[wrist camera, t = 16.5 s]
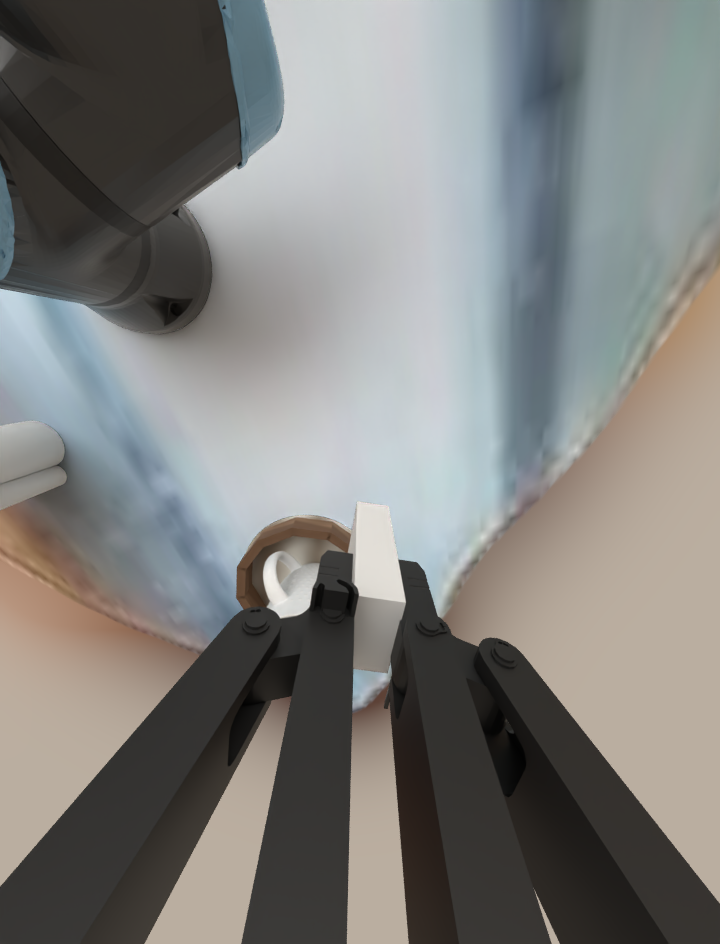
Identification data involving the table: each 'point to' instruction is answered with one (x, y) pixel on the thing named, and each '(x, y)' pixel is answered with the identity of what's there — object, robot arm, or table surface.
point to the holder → (295, 537)
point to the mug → (289, 585)
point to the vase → (29, 461)
